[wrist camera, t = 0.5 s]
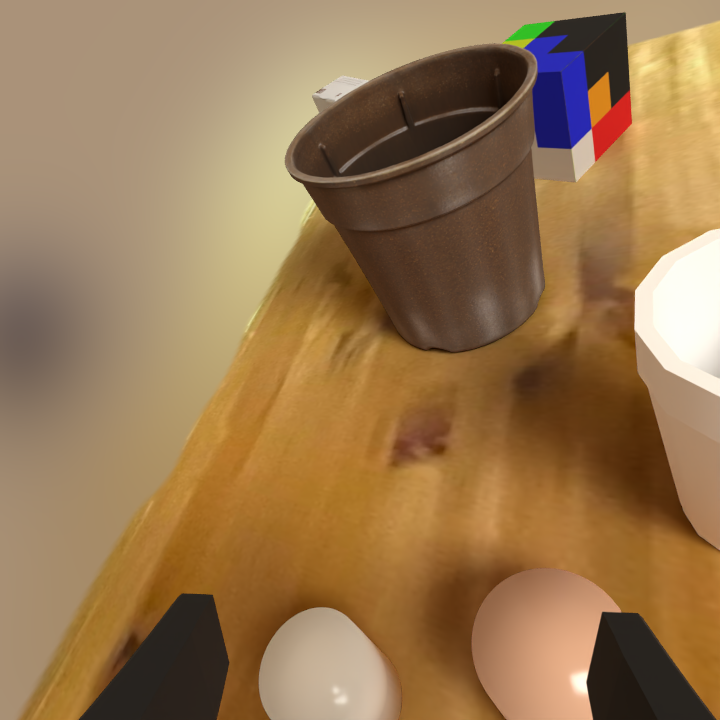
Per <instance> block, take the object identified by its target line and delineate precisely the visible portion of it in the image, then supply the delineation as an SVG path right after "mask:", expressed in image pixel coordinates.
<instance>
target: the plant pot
mask: <svg viewBox="0 0 720 720" xmlns="http://www.w3.org/2000/svg"><path fill="white" fill-rule="evenodd" d="M537 75H538V68H537V61H536V58H535V56H534V55H533V54H532V53H531V52H530V51H528V50H526V49H523V48H520V47H518V46H514V45H510V44H495V43H494V44H483V45H474V46H469V47H463V48H458V49H454V50H450V51H446V52H442V53H439V54H435V55H432V56H429V57H425V58H423V59H420V60H417V61H414V62H411V63H409V64H406V65H404V66H401V67H399V68H396V69H394V70H391V71H389V72H387V73H385V74H382V75H381V76H378V77H376V78H374V79H372V80H371V81H369V82H367V83H365V84H363V85H361V86H359V87H358V88H356V89H354V90H353V91H351V92H349V93H348V94H346V95H344V96H343V97H341V98H340V99H338V100H337V101H335V102H334V103H333V104H331V105H330V106H328V107H327V108H325V109H324V110H323V111H322V112H320V113H319V114H318V115H317V116H315V117H314V118H313V119H311V120H310V121H309V122H308V123H307V124H306V125H305V126H304V127H303V128H302V129H301V130H300V131H299V133H298V134H297V135H296V137H295V138H294V139H293V141H292V142H291V144H290V146H289V148H288V150H287V153H286V156H285V165H286V168H287V170H288V172H289V173H290V175H291V176H292V177H293V178H294V179H295V180H296V181H298V182H300V183H302V184H303V185H304V186H305V188H306V190H307V191H308V193H309V194H310V196H311V197H312V199H313V200H314V202H315V203H316V205H317V207H318V208H319V210H320V211H321V213H322V215H323V216H324V217H325V219H326V220H328V221H329V222H330V223H332V224H334V225H335V227H336V229H337V230H338V232H339V233H340V235H341V237H342V238H343V240H344V242H345V243H346V245H347V246H348V248H349V250H350V251H351V253H352V254H353V256H354V258H355V259H356V261H357V263H358V264H359V266H360V268H361V269H362V271H363V273H364V274H365V276H366V278H367V279H368V281H369V283H370V284H371V286H372V288H373V289H374V291H375V293H376V294H377V296H378V298H379V300H380V301H381V303H382V305H383V306H384V308H385V310H386V311H387V313H388V315H389V316H390V318H391V320H392V322H393V324H394V325H395V327H396V329H397V331H398V332H399V334H400V335H401V336H402V337H403V338H404V339H405V340H406V341H407V342H409V343H410V344H412V345H414V346H416V347H418V348H421V349H424V350H429V349H430V348H440V349H444V350H447V351H450V352H459V351H466V350H470V349H474V348H478V347H481V346H484V345H487V344H489V343H491V342H494V341H496V340H498V339H500V338H502V337H504V336H506V335H507V334H509V333H511V332H512V331H514V330H515V329H516V328H518V327H519V326H521V325H522V324H523V323H524V322H525V321H526V320H527V319H528V318H529V317H530V316H531V315H532V314H533V313H534V311H535V310H536V308H537V305H538V301H539V298H540V296H541V294H542V292H543V291H544V288H545V279H544V271H543V263H542V253H541V243H540V233H539V223H538V213H537V203H536V193H535V183H534V171H533V160H532V149H531V147H532V145H533V142H534V137H535V126H534V112H533V96H532V88H533V87H534V85H535V82H536V79H537Z"/></svg>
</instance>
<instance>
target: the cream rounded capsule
mask: <svg viewBox="0 0 720 720" xmlns="http://www.w3.org/2000/svg"><path fill="white" fill-rule="evenodd" d="M259 693H260V698H261V702H262V704H263V707H264V709H265V711H266V713H267V715H268V716H269V717H270V719H271V720H398V719H399V716H400V712H401V706H402V689H401V683H400V679H399V676H398V674H397V671H396V669H395V667H394V666H393V664H392V663H391V661H390V660H389V659H388V658H387V657H386V656H385V655H384V654H383V653H382V652H381V651H380V650H379V648H378V647H377V646H376V645H375V644H374V643H373V642H372V641H371V640H370V639H369V638H368V637H367V636H366V635H365V634H364V633H363V632H362V631H361V630H360V629H359V628H358V627H357V626H356V625H355V624H354V623H353V622H352V621H351V620H350V619H349V618H348V617H347V616H346V615H344V614H343V613H341V612H339V611H337V610H335V609H331V608H325V607H317V608H311V609H308V610H305V611H302V612H300V613H298V614H296V615H295V616H293V617H292V618H290V619H289V620H288V621H286V622H285V623H284V624H283V625H282V626H281V627H280V628H279V630H278V631H277V632H276V633H275V635H274V636H273V638H272V639H271V641H270V643H269V644H268V646H267V648H266V651H265V653H264V656H263V659H262V662H261V666H260V672H259Z"/></svg>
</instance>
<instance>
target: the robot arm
mask: <svg viewBox="0 0 720 720" xmlns="http://www.w3.org/2000/svg"><path fill="white" fill-rule="evenodd" d="M228 666H229V660H228V655H227V651H226V647H225V643H224V639H223V635H222V631H221V627H220V623H219V619H218V614H217V610H216V606H215V602H214V598H213V595H206V594H183V593H182V594H181V595H180V596H179V597H178V598H177V599H176V600H175V602H174V603H173V604H172V606H171V607H170V608H169V609H168V611H167V612H166V613H165V615H164V616H163V617H162V618H161V620H160V621H159V622H158V624H157V625H156V626H155V628H154V629H153V630H152V631H151V633H150V634H149V635H148V637H147V638H146V639H145V640H144V642H143V643H142V644H141V645H140V647H139V648H138V649H137V650H136V652H135V653H134V654H133V655H132V657H131V658H130V659H129V660H128V662H127V663H126V664H125V665H124V667H123V668H122V669H121V670H120V671H119V673H118V674H117V675H116V676H115V677H114V679H113V680H112V681H111V682H110V683H109V685H108V686H107V687H106V688H105V689H104V691H103V692H102V693H101V694H100V695H99V697H98V698H97V699H96V700H95V701H94V703H93V704H92V705H91V706H90V707H89V708H88V710H87V711H86V712H85V713H84V714H83V715H82V716H81V717H80V719H79V720H216V719H217V715H218V711H219V707H220V703H221V698H222V694H223V689H224V685H225V680H226V675H227V671H228ZM586 685H587V691H588V696H589V701H590V706H591V712H592V717H593V720H716V719H715V717H714V716H713V715H712V713H711V712H710V711H709V709H708V708H707V707H706V705H705V704H704V703H703V701H702V700H701V699H700V697H699V696H698V695H697V693H696V692H695V691H694V689H693V688H692V687H691V685H690V684H689V683H688V681H687V680H686V678H685V677H684V676H683V674H682V673H681V672H680V670H679V669H678V668H677V666H676V665H675V663H674V662H673V661H672V659H671V658H670V656H669V655H668V654H667V652H666V651H665V649H664V648H663V646H662V645H661V644H660V642H659V641H658V639H657V638H656V636H655V635H654V634H653V632H652V631H651V629H650V628H649V626H648V625H647V623H646V622H645V621H644V619H643V618H642V617H641V616H640V615H639V614H638V613H621V612H602V614H601V619H600V623H599V628H598V632H597V636H596V641H595V645H594V649H593V654H592V658H591V663H590V667H589V671H588V676H587V680H586Z"/></svg>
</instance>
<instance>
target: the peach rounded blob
mask: <svg viewBox="0 0 720 720" xmlns="http://www.w3.org/2000/svg"><path fill="white" fill-rule="evenodd" d="M602 612H621V610H620V609H619V607H618V606H617V605H616V604H615V602H614V601H613V600H612V599H611V598H610V597H609V596H608V595H607V594H606V593H605V592H604V591H603V590H602V589H601V588H599V587H598V586H597V585H595V584H594V583H592V582H591V581H589V580H587V579H586V578H584V577H581V576H579V575H577V574H574V573H571V572H568V571H565V570H560V569H552V568H536V569H530V570H526V571H522V572H519V573H517V574H514V575H512V576H510V577H508V578H507V579H505V580H503V581H502V582H501V583H499V584H498V585H497V586H496V587H495V588H494V589H493V590H492V591H491V592H490V593H489V594H488V595H487V597H486V598H485V599H484V601H483V602H482V604H481V606H480V608H479V610H478V613H477V615H476V618H475V621H474V625H473V630H472V655H473V661H474V665H475V669H476V672H477V675H478V677H479V680H480V682H481V684H482V686H483V688H484V689H485V691H486V693H487V694H488V695H489V697H490V698H491V700H492V701H493V703H494V704H495V705H496V707H497V708H498V709H499V711H500V712H501V714H502V715H503V716H504V718H505V719H506V720H593V717H592V712H591V706H590V701H589V696H588V691H587V685H586V680H587V676H588V671H589V667H590V663H591V658H592V654H593V649H594V645H595V641H596V636H597V632H598V628H599V623H600V619H601V614H602ZM621 613H622V612H621Z"/></svg>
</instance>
